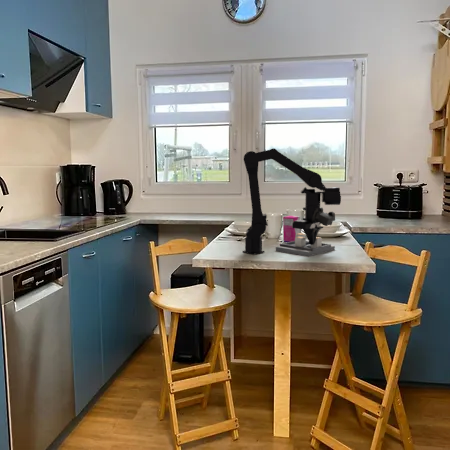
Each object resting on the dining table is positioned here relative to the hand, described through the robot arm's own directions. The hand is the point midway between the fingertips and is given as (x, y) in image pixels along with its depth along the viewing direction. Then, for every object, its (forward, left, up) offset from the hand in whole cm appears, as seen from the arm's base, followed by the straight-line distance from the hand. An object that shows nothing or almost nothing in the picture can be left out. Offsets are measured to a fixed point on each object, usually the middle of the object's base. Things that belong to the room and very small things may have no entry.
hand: (312, 244), depth 179 cm
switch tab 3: (+3, 0, -2) cm, 3 cm away
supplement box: (+15, +21, -4) cm, 26 cm away
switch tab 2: (-1, +5, -2) cm, 5 cm away
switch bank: (+3, +5, -3) cm, 7 cm away
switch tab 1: (+6, +10, -2) cm, 12 cm away
